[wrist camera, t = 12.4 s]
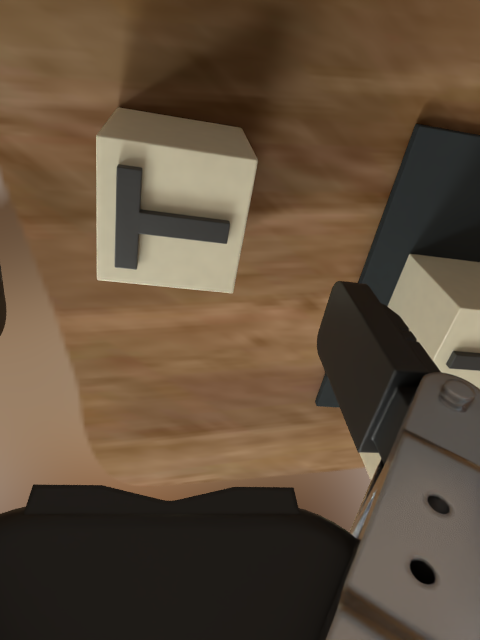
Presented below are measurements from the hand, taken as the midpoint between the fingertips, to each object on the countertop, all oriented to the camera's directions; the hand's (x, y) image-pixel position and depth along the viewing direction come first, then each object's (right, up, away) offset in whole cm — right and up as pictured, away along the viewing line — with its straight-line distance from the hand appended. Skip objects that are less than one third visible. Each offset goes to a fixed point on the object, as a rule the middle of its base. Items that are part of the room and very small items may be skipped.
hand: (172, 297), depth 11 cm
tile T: (-1, +5, +7) cm, 8 cm away
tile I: (+11, 0, +11) cm, 16 cm away
